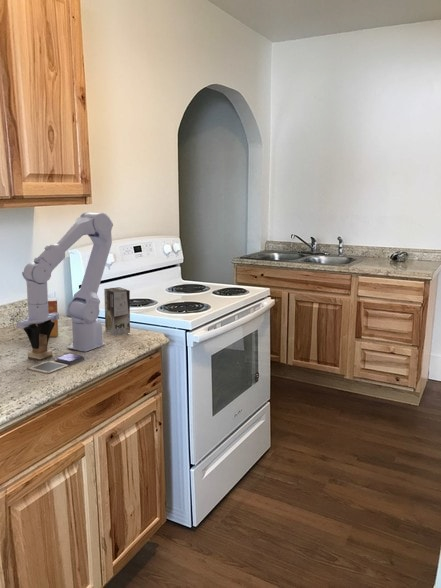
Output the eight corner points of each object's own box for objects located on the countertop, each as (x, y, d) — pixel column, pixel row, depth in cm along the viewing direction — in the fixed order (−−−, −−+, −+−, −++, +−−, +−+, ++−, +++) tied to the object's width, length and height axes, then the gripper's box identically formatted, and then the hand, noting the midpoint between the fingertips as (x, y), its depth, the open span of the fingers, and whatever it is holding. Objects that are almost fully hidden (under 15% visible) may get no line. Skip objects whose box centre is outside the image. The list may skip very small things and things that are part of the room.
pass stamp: (40, 354, 154) (39, 332, 153) (52, 356, 152) (51, 334, 151) (27, 358, 150) (26, 336, 149) (40, 361, 148) (39, 338, 147)
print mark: (48, 361, 148) (48, 360, 148) (69, 365, 144) (69, 364, 144) (27, 369, 141) (27, 368, 141) (48, 374, 137) (48, 372, 137)
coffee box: (130, 334, 180) (130, 290, 178) (114, 336, 177) (113, 291, 174) (120, 328, 188) (120, 286, 185) (104, 330, 184) (103, 287, 181)
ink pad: (69, 356, 152) (69, 353, 152) (84, 359, 150) (84, 356, 150) (55, 362, 147) (54, 358, 147) (70, 365, 145) (70, 361, 144)
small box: (34, 338, 172) (32, 301, 170) (34, 333, 178) (33, 297, 176) (58, 336, 175) (57, 300, 173) (58, 332, 181) (57, 297, 179)
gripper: (46, 297, 156) (48, 339, 159) (8, 305, 143) (10, 350, 146) (63, 300, 153) (64, 342, 156) (25, 308, 140) (28, 354, 143)
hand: (39, 346), depth 151 cm, fingers closed on pass stamp, 3 cm apart
